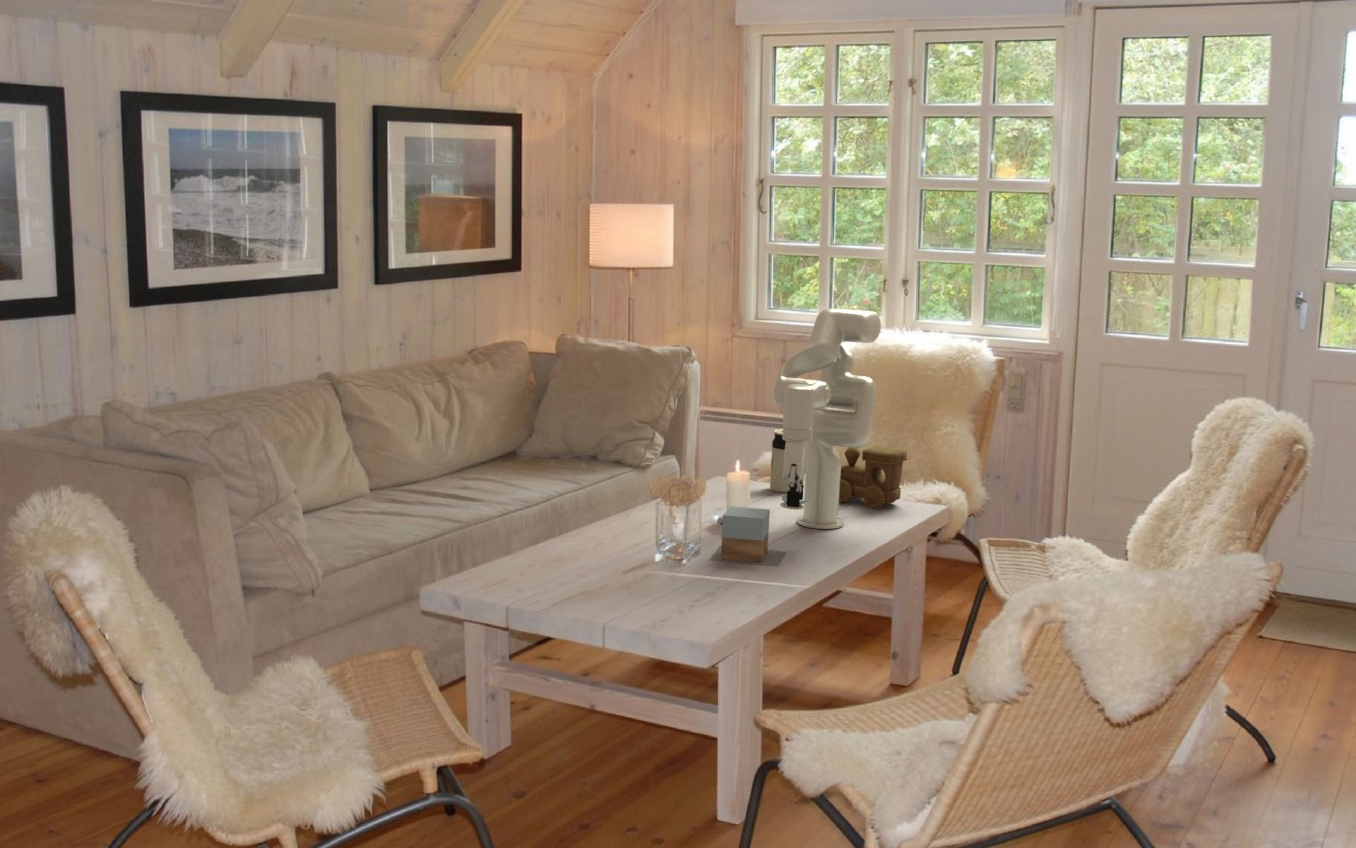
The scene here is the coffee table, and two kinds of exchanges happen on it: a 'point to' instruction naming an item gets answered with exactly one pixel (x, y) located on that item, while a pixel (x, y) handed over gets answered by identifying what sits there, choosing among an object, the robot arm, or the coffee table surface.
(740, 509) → the top block
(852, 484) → the wooden toy train
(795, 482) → the pacifier
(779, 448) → the travel mug
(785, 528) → the coffee table surface
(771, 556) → the mat
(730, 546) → the bottom block
